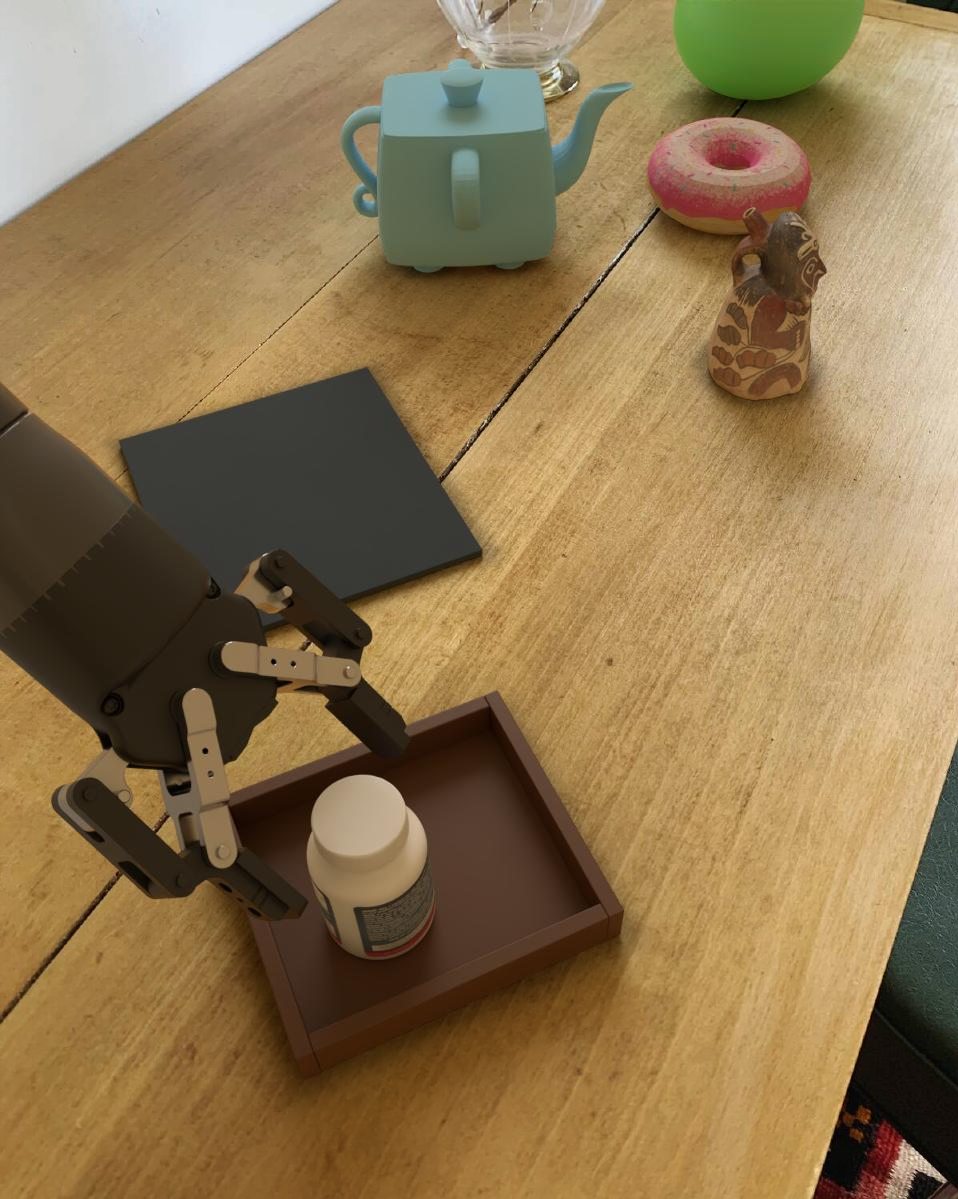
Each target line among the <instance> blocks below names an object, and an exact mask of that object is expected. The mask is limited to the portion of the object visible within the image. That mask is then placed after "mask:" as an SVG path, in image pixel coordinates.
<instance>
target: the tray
mask: <svg viewBox="0 0 958 1199" xmlns="http://www.w3.org/2000/svg"><path fill="white" fill-rule="evenodd" d="M406 726H407V727H406V728H405V730H404V732H405V733H406V734H408V735H409V737H410V738H411V743H410V745H409V747H408V748H407V750H406V751H405V753H404V755H402V756H397V757H393V758H388V759H383V758H380V757H378V756H377V755H375V754H374V753H373V752H372V751H371V750H370V749H369V748H368V747H366V746H365V745H364V744H363V743H362V742H359V743H357V744H354V745H351V746H349V747H347V748H343V749H341V750H339V751H337V752H333V753H331V754H328V755H326V756H324V757H320V758H318V759H316V760H313V761H310V762H308V763H305V764H303V765H300V766H298V767H294V768H292V769H289V770H287V771H284V772H282V773H279V774H276V775H274V776H271V777H269V778H266V779H264V780H261V781H258V782H256V783H253V784H251V785H248V786H245V787H243V788H240V789H238V790H235V791H232V792H230V800H229V803H228V812H229V816H230V821H231V825H232V829H233V834H234V838H235V842H236V847H237V848H243V847H247V848H248V849H249V850H250V851H251V852H253V853H254V854H255V855H256V856H257V857H258V858H260V859H261V860H262V861H263V862H264V863H265V864H267V865H268V866H269V867H270V868H271V869H272V870H274V871H275V872H276V873H277V874H278V875H279V876H281V877H282V878H283V879H284V880H285V881H286V882H288V883H289V884H290V885H291V886H292V887H293V888H295V889H296V890H297V891H298V892H299V893H300V894H302V895H303V896H304V897H305V898H306V899H307V900H308V902H309V903H308V905H307V907H306V908H305V910H304V911H303V913H302V915H301V916H300V918H299V919H282V920H281V921H263V920H259V919H256V918H253V917H251V916H250V915H249V914H248V913H247V912H245V913H246V916H247V920H248V922H249V925H250V928H251V931H252V934H253V937H254V940H255V944H256V946H257V949H258V952H259V955H260V958H261V961H262V964H263V967H264V971H265V974H266V977H267V979H268V984H269V985H270V989H271V991H272V994H273V997H274V1001H275V1004H276V1006H277V1009H278V1012H279V1016H280V1018H281V1021H282V1025H283V1028H284V1030H285V1034H286V1037H287V1039H288V1042H289V1045H290V1048H291V1051H292V1054H293V1057H294V1060H295V1062H296V1065H297V1066H298V1069H299V1071H300V1073H301V1075H302V1078H303V1079H304V1080H306V1079H308V1078H310V1077H313V1076H315V1075H318V1074H319V1073H321V1072H323V1071H326V1070H328V1069H330V1068H332V1067H334V1066H337V1065H338V1064H342V1063H344V1062H345V1061H348V1060H349V1059H352V1058H354V1057H356V1056H358V1055H360V1054H363V1053H365V1052H367V1051H369V1050H371V1049H374V1048H376V1047H378V1046H380V1045H382V1044H384V1043H387V1042H389V1041H391V1040H393V1039H395V1038H398V1037H400V1036H402V1035H404V1034H406V1033H408V1032H411V1031H412V1030H415V1029H417V1028H419V1027H422V1026H423V1025H426V1024H428V1023H430V1022H433V1021H435V1020H438V1019H439V1018H441V1017H443V1016H445V1015H448V1014H450V1013H452V1012H454V1011H456V1010H459V1009H461V1008H462V1007H465V1006H467V1005H469V1004H472V1003H473V1002H476V1001H478V1000H480V999H482V998H484V997H486V996H487V997H488V996H489V995H491V994H493V993H495V992H498V991H500V990H502V989H505V988H506V987H508V986H510V985H513V984H515V983H517V982H519V981H521V980H524V979H526V978H528V977H530V976H532V975H534V974H536V973H538V972H541V971H544V970H545V969H548V968H550V967H552V966H553V965H556V964H558V963H561V962H563V961H565V960H567V959H569V958H571V957H574V956H575V955H578V954H580V953H582V952H584V951H586V950H588V949H591V948H593V947H595V946H597V945H600V944H602V943H604V942H607V941H608V940H611V939H613V938H615V937H617V936H620V935H621V934H622V933H621V932H622V926H623V920H624V916H625V915H624V914H625V909H624V908H623V906H622V903H621V902H620V900H619V899H618V897H617V895H616V893H615V891H614V890H613V888H612V886H611V885H610V883H609V881H608V879H607V878H606V876H605V875H604V873H603V871H602V869H601V867H600V866H599V864H598V862H597V861H596V859H595V857H594V856H593V854H592V851H591V850H590V849H589V847H588V845H587V843H586V841H585V839H584V838H583V836H582V835H581V832H580V831H579V828H577V826H576V824H575V822H574V820H573V819H572V817H571V815H570V813H569V812H568V810H567V808H566V807H565V805H564V803H563V801H562V800H561V797H560V796H559V795H558V793H557V791H556V789H555V787H554V786H553V784H552V782H551V780H550V779H549V777H548V775H547V773H546V772H545V770H544V768H543V767H542V765H541V764H540V762H539V760H538V758H537V756H536V754H535V752H534V751H533V749H532V747H531V746H530V744H529V742H528V741H527V739H526V736H525V735H524V734H523V732H522V730H521V729H520V726H519V725H518V723H517V721H516V720H515V718H514V716H513V714H512V713H511V711H510V709H509V708H508V705H507V704H506V702H505V701H504V698H503V697H502V696H501V694H500V692H499V690H494V691H491V692H489V693H485V694H484V695H482V696H479V697H476V698H474V699H472V700H468V701H466V702H463V703H460V704H458V705H456V706H453V707H450V708H448V709H446V710H442V711H440V712H438V713H434V714H432V715H430V716H427V717H424V718H422V719H419V720H417V721H413V722H412V723H409V724H406ZM354 775H371V776H375V777H379V778H382V779H384V780H385V781H387V782H389V783H390V784H392V785H393V786H394V787H395V788H396V789H397V790H398V791H399V793H400V794H401V796H402V798H403V800H404V803H405V805H406V806H407V807H408V808H409V809H411V810H412V811H413V813H414V814H415V815H416V816H417V818H418V819H419V821H420V822H421V824H422V826H423V829H424V831H425V835H426V839H427V844H428V851H429V858H430V865H431V872H432V879H433V886H434V892H435V913H434V917H433V921H432V923H431V926H430V928H429V930H428V931H427V933H426V934H425V936H424V937H423V938H422V939H421V941H420V942H419V943H418V944H417V945H416V946H414V947H413V948H412V949H410V950H409V951H407V952H405V953H404V954H402V955H399V956H397V957H394V958H390V959H384V960H370V959H365V958H361V957H358V956H355V955H353V954H351V953H349V952H347V951H346V950H345V949H343V948H342V947H341V946H340V945H339V944H338V943H337V942H336V941H335V940H334V939H333V937H332V936H331V934H330V932H329V930H328V928H327V925H326V923H325V919H324V916H323V914H322V911H321V908H320V905H319V902H318V899H317V896H316V893H315V890H314V886H313V883H312V880H311V877H310V874H309V870H308V863H307V846H308V841H309V838H310V835H311V832H312V827H311V816H312V811H313V808H314V805H315V803H316V801H317V799H318V798H319V796H320V795H321V794H322V793H323V792H324V790H325V789H327V788H328V787H329V786H330V785H332V784H333V783H335V782H337V781H339V780H341V779H343V778H346V777H349V776H354Z"/></svg>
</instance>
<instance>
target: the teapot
mask: <svg viewBox="0 0 958 1199" xmlns="http://www.w3.org/2000/svg"><path fill="white" fill-rule="evenodd" d="M634 86H635V84H634V82H631V81H630V82H628V81H620V82H612V83H606V84H603V85H600V86H598V87H596V88H594V89H593V90H592V91H590V93H589V94H588V95H587V96H585V98H584V100H583V101H582V102H581V105H580V107H579V110H578V112H577V115H576V119H575V121H574V124H573V127H572V129H571V130H570V132H569V134H568V135H567V136H566V138H564V139H563V140H562V141H560V142H559V143H557V144H555V145H552V138H551V133H550V132H551V131H550V127H549V126H550V125H549V120H548V114H547V109H546V108H547V107H546V103H545V98H544V93H543V86H542V82H541V78H540V75H539V73H538V72H537V70H534V69H528V68H474V67H473V65H472V63H471V62H470V61H469V60H467V59H464V58H457V59H453V60H452V61H450V62H449V64H448V67H447V69H445V70H430V71H429V70H428V71H417V72H407V73H405V72H404V73H398V74H391V75H387V76H386V77H385V79H384V81H383V85H382V92H381V93H382V95H381V103H380V105H369V106H368V105H367V106H364V107H362V108H359V109H357V110H355V111H354V112H353V113H352V114H351V115H350V116H349V117H348V118H347V119H346V121H345V122H344V124H343V126H342V127H341V131H340V138H339V139H340V146H341V151H342V153H343V155H344V157H345V159H346V161H347V162H348V165H349V166H350V167H351V169H352V170H353V172H354V173H355V174H356V176H357V177H358V178H359V180H360V181H361V184H359V185H358V186H356V188H355V189H354V191H353V194H352V203H353V206H354V209H355V210H356V212H357V213H359V215H361V216H363V217H367V218H377V220H378V221H377V222H378V233H379V239H380V244H381V246H382V249H383V251H384V254H385V257H386V259H387V262H388V263H389V264H391V265H394V266H404V267H413V268H414V269H415V270H416V271H418V272H420V273H435V272H438V271H440V270H442V269H443V268H444V267H477V266H478V267H479V266H490V265H494V266H495V267H496V268H499V269H502V270H503V269H504V270H514V269H518V268H520V267H522V266H523V265H524V264H525V262H531V261H538V260H543V259H546V258H548V257H549V256H550V254H551V251H552V248H553V244H554V240H555V236H556V232H557V197H558V196H560V195H562V194H563V193H565V192H567V191H568V190H570V189H571V188H572V187H573V186H574V185H575V184H576V183H578V181H579V179H580V178H581V177H582V175H583V174H584V172H585V169H586V168H587V164H588V163H589V159H590V156H591V152H592V149H593V145H594V141H595V138H596V133H597V130H598V127H599V124H600V121H601V119H602V117H603V115H604V113H605V112H606V110H607V108H608V107H609V106H610V105H611V104H612V103H613V102H614V101H616V100H617V99H618V98H619V97H621V96H622V95H624V94H625V93H627V92H629V91H630V90H631V89H633V88H634ZM371 124H379V126H378V140H377V152H376V153H377V154H376V174H375V173H374V171H373V170H372V168H370V166H369V165H368V163H367V162H366V160H365V159H364V157H363V156H362V155H361V153H360V151H359V150H358V147H357V145H356V142H355V140H354V134H355V132H357V130H359V129H361V128H362V127H364V126H367V125H371ZM367 194H369V195H370V194H371V196H372V197H373V199H374V200H373V201H369V200H366V199H364V197H363V196H364V195H367Z"/></svg>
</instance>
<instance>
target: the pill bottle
mask: <svg viewBox="0 0 958 1199" xmlns="http://www.w3.org/2000/svg"><path fill="white" fill-rule="evenodd" d="M311 827H312V832H311V835H310V838H309V841H308V846H307V863H308V870H309V874H310V877H311V880H312V883H313V886H314V890H315V893H316V896H317V899H318V902H319V905H320V908H321V911H322V914H323V916H324V919H325V923H326V925H327V928H328V930H329V932H330V934H331V936H332V937H333V939H334V940H335V941H336V942H337V943H338V944H339V945H340V946H341V947H342V948H343V949H345V950H346V951H347V952H349V953H351V954H353V955H355V956H358V957H361V958H365V959H370V960H384V959H390V958H394V957H397V956H399V955H402V954H404V953H405V952H407V951H409V950H410V949H412V948H413V947H414V946H416V945H417V944H418V943H419V942H420V941H421V939H422V938H423V937H424V936H425V934H426V933H427V931H428V930H429V928H430V926H431V923H432V921H433V917H434V913H435V892H434V886H433V879H432V872H431V865H430V858H429V851H428V844H427V839H426V835H425V831H424V829H423V826H422V824H421V822H420V821H419V819H418V818H417V816H416V815H415V814H414V813H413V811H412V810H411V809H409V808H408V807H407V806H406V805H405V803H404V800H403V798H402V796H401V794H400V793H399V791H398V790H397V789H396V788H395V787H394V786H393V785H392V784H390V783H389V782H387V781H385V780H384V779H382V778H379V777H375V776H371V775H354V776H349V777H346V778H343V779H341V780H339V781H337V782H335V783H333V784H332V785H330V786H329V787H328V788H327V789H325V790H324V792H323V793H322V794H321V795H320V796H319V798H318V799H317V801H316V803H315V805H314V808H313V811H312V816H311Z"/></svg>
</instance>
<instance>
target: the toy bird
mask: <svg viewBox="0 0 958 1199" xmlns="http://www.w3.org/2000/svg"><path fill="white" fill-rule="evenodd" d="M865 6H866V0H675V5H674V10H673V24H672V26H673V36H674V41H675V45H676V48H677V51H678V53H679V55H680V58H681V60H682V62H683V64H684V65H685V67H686V68H687V70H688V71H689V72H690V73H691V75H692V76H693V77H694V78H695V79H696V80H697V81H698V82H700V83H701V84H702V85H703V86H705V87H706V88H708V89H710V90H712V91H713V92H716V93H718V94H720V95H723V96H725V97H728V98H733V99H738V100H746V101H747V100H748V101H762V100H772V99H778V98H782V97H786V96H789V95H792V94H796V93H798V92H801V91H804V90H805V89H808V87H810V86H812V85H814V84H816V83H817V82H819V81H820V80H822V79H823V78H824V77H826V76H827V75H828V74H829V73H830V72H831V71H832V70H834V69H835V68H836V66H838V64H839V63H840V62H841V61H842V60H843V59H844V57H845V56H846V54H847V53H848V51H849V50H850V49H851V47H852V45H853V43H854V42H855V40H856V37H857V35H858V33H859V30H860V27H861V25H862V21H863V17H864V13H865V8H866V7H865Z"/></svg>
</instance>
